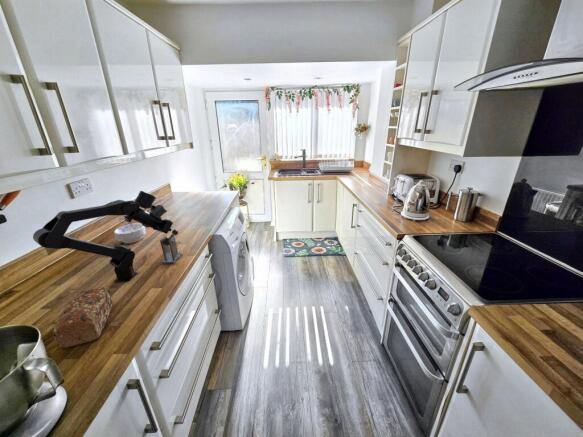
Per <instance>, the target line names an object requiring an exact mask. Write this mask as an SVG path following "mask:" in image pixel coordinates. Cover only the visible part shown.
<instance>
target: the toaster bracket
mask: <svg viewBox="0 0 583 437" xmlns="http://www.w3.org/2000/svg"><path fill="white" fill-rule="evenodd" d="M166 238H168V236H164V237H162V238H161V239H160V240H159V244H160V246H161V250H162V255H163V260H162V261H161V265H174V264H176V263H177V261H178V260H179V259H180V258H181V257H182V256H183V252H179V250H178V246H177V242H176V237H175V236H173V237H171V238H170V239H169V240H168V242H169V245H165V243H164V241H165V239H166Z"/></svg>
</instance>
